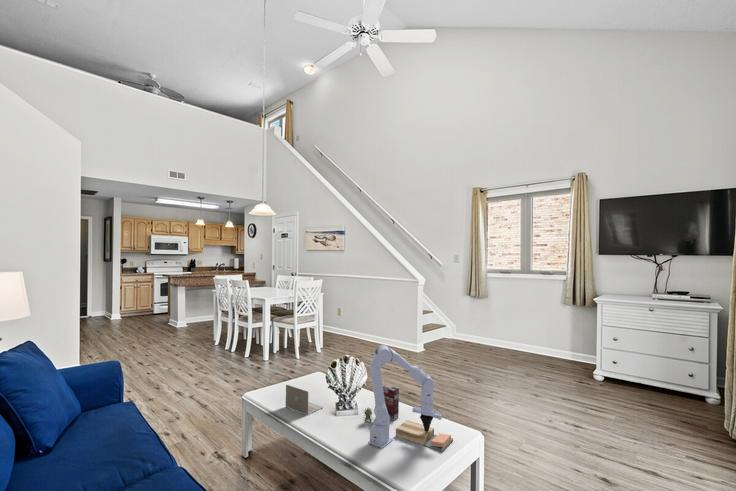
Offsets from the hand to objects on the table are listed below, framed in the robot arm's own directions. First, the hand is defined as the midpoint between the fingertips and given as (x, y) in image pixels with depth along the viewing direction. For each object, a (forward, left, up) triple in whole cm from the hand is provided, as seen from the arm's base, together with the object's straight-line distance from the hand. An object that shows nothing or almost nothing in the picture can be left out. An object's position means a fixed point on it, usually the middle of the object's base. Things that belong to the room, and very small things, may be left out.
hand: (426, 430), depth 175 cm
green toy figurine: (-2, +33, -4) cm, 33 cm away
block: (0, -7, -1) cm, 7 cm away
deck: (0, +6, -4) cm, 8 cm away
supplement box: (+10, +27, -4) cm, 29 cm away
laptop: (-8, +73, -5) cm, 73 cm away
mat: (0, -6, -4) cm, 7 cm away
